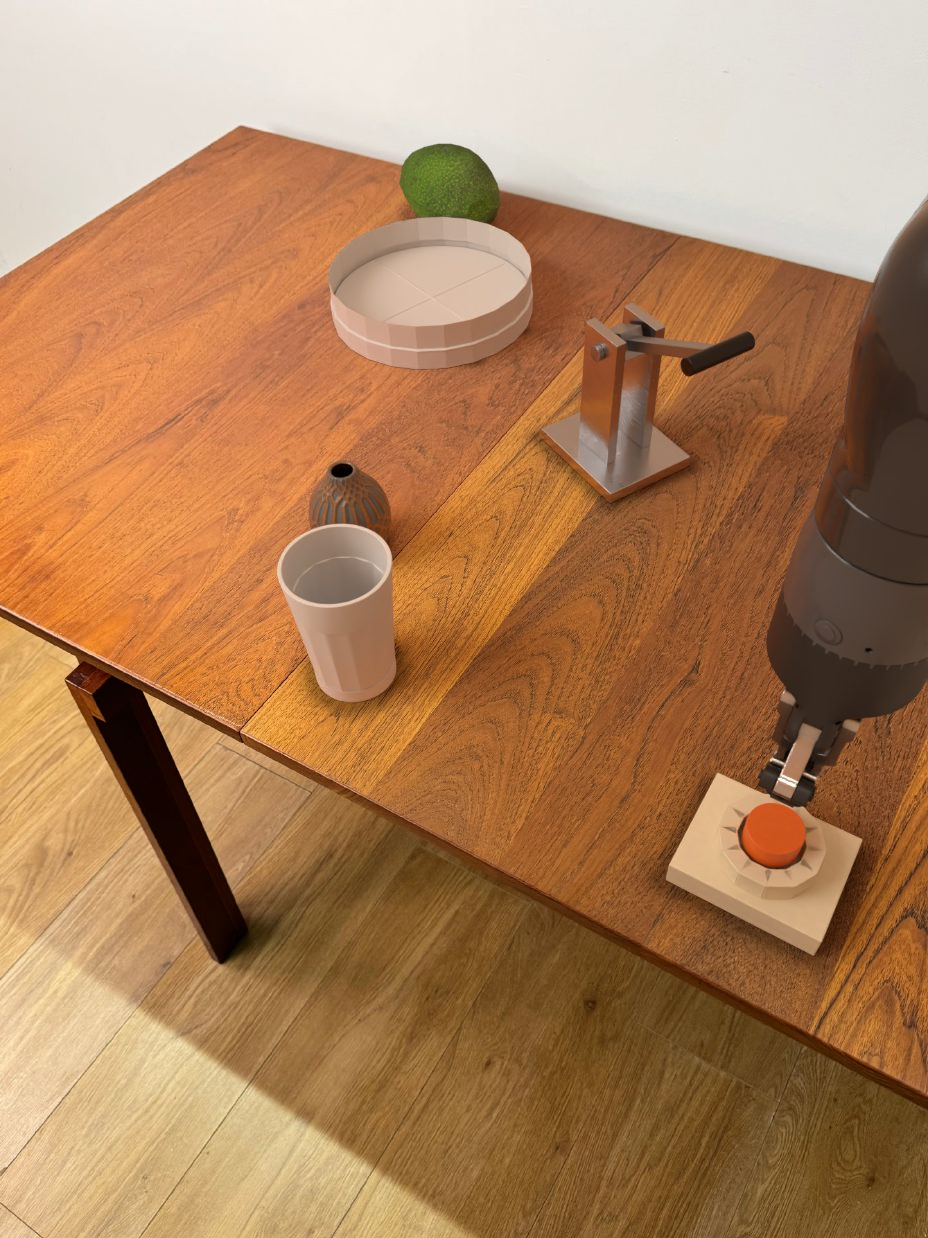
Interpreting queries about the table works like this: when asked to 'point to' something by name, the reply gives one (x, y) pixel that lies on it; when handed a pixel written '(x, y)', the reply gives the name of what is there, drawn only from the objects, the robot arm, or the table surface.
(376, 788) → the table surface
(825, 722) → the robot arm
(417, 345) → the dish
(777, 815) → the power button
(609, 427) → the lever bracket
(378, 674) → the cup
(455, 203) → the fruit
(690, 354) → the metal lever
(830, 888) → the block
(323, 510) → the vase
